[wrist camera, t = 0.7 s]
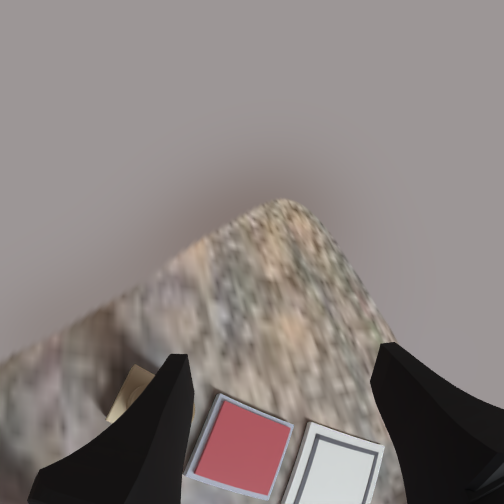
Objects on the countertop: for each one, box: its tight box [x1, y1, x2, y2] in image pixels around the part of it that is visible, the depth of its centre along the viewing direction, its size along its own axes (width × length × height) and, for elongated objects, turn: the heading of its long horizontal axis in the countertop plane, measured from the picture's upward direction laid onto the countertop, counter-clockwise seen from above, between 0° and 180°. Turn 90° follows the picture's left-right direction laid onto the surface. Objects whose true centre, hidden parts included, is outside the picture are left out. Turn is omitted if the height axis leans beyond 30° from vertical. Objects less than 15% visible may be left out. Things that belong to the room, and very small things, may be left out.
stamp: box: [105, 364, 195, 424], centre depth 19 cm, size 5×5×7 cm
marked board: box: [281, 422, 385, 504], centre depth 25 cm, size 12×12×1 cm
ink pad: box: [183, 394, 294, 501], centre depth 23 cm, size 8×8×1 cm
